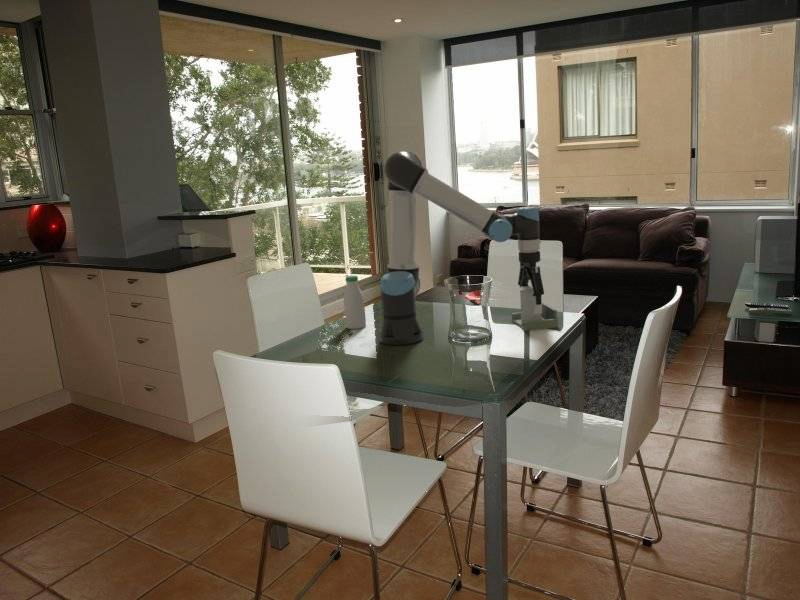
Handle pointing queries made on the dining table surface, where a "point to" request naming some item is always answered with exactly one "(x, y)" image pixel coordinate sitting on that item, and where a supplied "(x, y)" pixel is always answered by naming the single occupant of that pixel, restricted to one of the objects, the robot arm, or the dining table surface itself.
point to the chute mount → (547, 320)
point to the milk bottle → (354, 304)
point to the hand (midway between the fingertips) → (531, 309)
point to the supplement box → (528, 305)
